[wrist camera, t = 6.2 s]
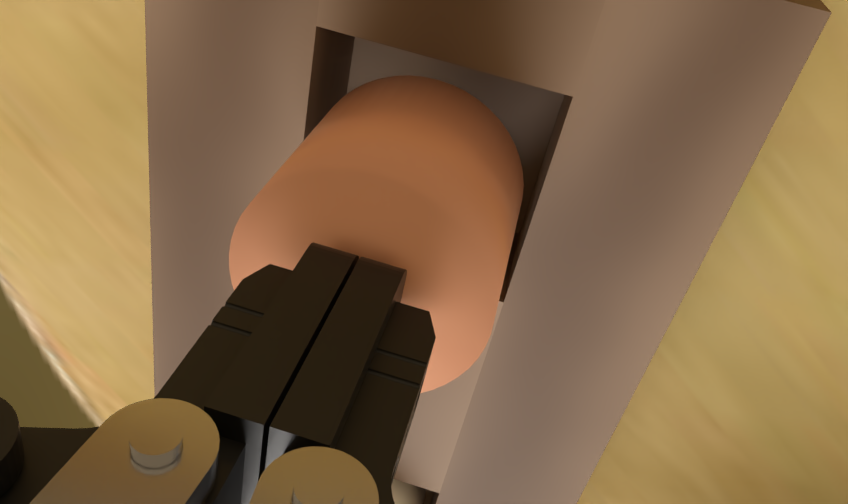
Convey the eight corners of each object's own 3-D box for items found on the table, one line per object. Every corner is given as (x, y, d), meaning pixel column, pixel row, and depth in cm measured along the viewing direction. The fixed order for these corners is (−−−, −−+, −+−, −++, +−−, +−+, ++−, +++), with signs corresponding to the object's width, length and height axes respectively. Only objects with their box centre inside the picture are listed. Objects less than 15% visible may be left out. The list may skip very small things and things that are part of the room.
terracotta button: (551, 111, 14) (529, 219, 10) (492, 293, 16) (460, 426, 13) (325, 48, 14) (234, 133, 11) (303, 237, 16) (223, 352, 13)
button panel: (785, -39, 15) (832, 12, 12) (508, 557, 28) (493, 662, 24) (238, -180, 16) (140, -168, 13) (211, 461, 29) (158, 550, 25)
